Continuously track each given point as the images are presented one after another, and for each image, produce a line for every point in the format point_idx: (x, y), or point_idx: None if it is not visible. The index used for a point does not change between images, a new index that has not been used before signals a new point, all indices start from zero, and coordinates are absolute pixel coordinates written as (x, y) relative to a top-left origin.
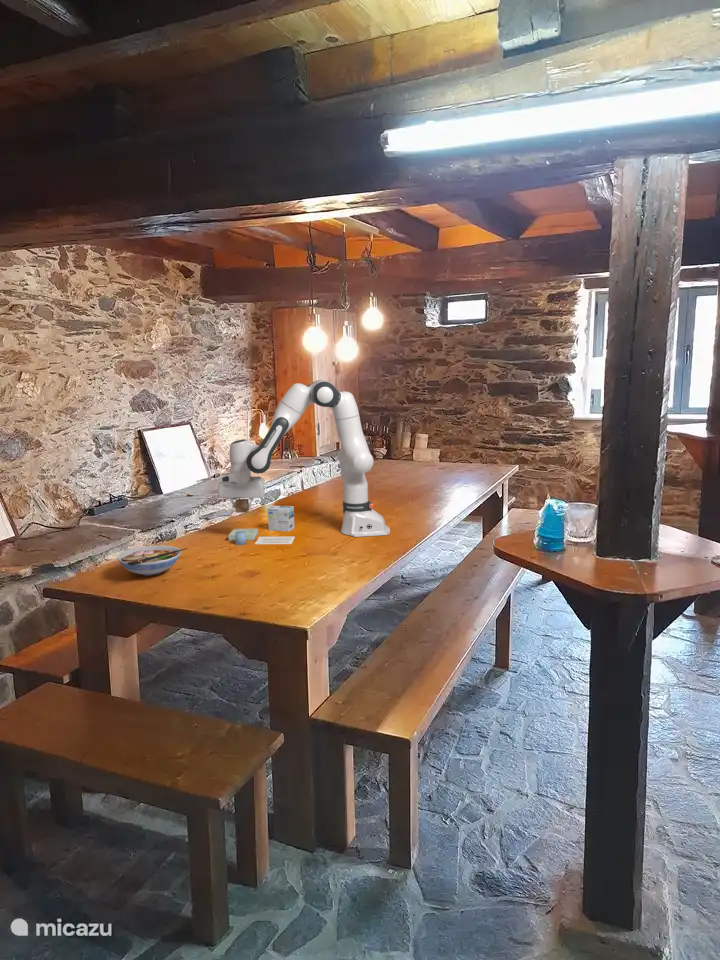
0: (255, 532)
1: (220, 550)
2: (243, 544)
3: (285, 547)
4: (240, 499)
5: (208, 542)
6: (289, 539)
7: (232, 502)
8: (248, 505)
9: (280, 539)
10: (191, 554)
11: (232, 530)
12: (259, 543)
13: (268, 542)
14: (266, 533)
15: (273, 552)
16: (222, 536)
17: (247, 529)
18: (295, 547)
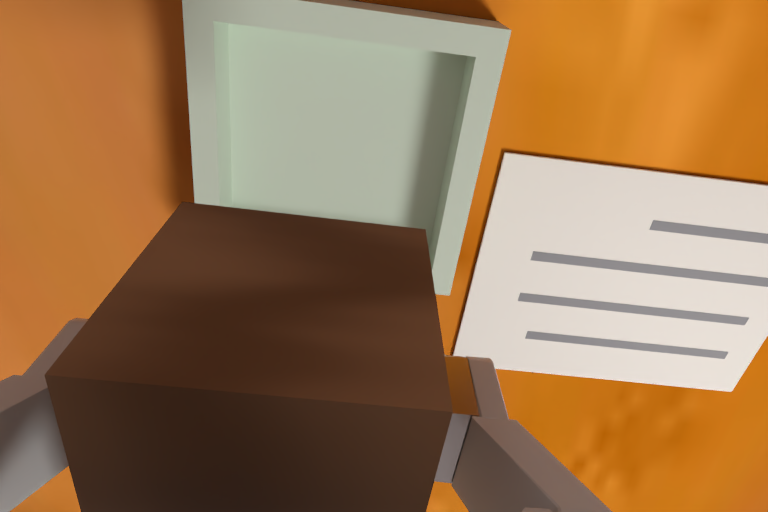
0: (473, 189)
1: None
2: None
3: (663, 440)
4: (186, 436)
5: (43, 260)
6: (761, 285)
7: (23, 489)
8: None
9: (684, 275)
10: (59, 487)
11: (187, 73)
12: (491, 353)
13: (565, 340)
14: (598, 3)
15: None
16: (95, 64)
17: (374, 42)
18: (729, 447)
